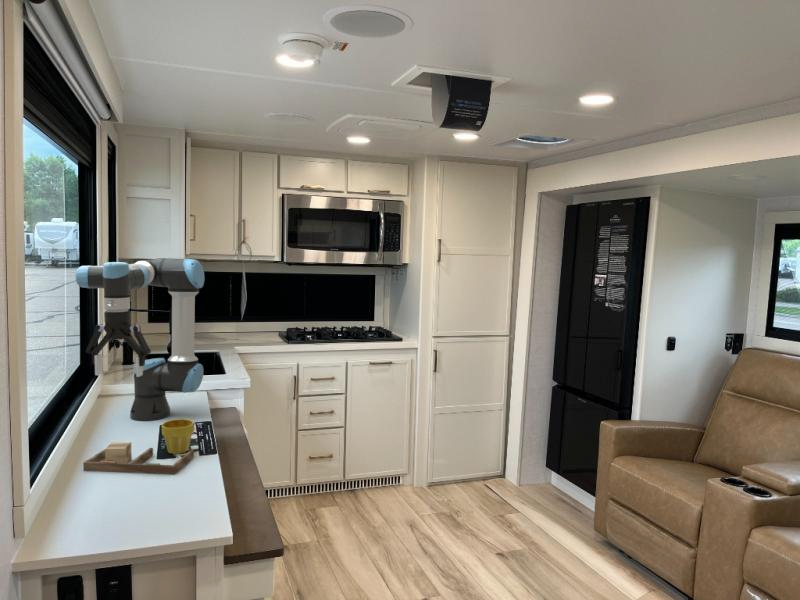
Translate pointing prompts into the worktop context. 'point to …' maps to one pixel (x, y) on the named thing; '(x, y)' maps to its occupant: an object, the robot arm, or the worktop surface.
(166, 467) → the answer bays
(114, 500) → the worktop surface
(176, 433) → the plant pot
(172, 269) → the robot arm
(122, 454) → the oak block
